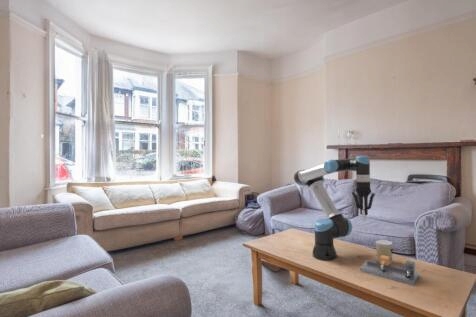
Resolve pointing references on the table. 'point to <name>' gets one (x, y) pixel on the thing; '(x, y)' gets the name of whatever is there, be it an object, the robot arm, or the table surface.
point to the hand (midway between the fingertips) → (364, 220)
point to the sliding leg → (384, 261)
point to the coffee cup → (384, 249)
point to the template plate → (392, 271)
